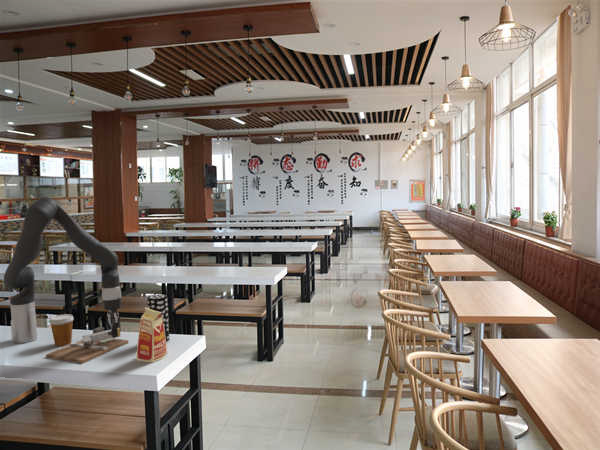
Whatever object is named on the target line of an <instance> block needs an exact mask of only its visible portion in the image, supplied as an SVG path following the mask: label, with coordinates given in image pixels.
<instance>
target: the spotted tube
mask: <svg viewBox="0 0 600 450" xmlns="http://www.w3.org/2000/svg"><path fill="white" fill-rule="evenodd" d="M146 300H147V308H148V309H151V310H153V311H158V312H162V313H161V314H160V315H161V316H162V319H163V324H164V330H165V338H166V342H167V343H169V342H170V326H169V322H170V321H169V302H168V295H167V294H163V293H160V294H152V295H149V296H147V299H146ZM168 341H169V342H168Z"/></svg>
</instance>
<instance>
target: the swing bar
mask: <svg viewBox="0 0 600 450" xmlns="http://www.w3.org/2000/svg"><path fill="white" fill-rule="evenodd" d="M117 330H118V337H117V338H119V337H121V328H120V327H119V328H117ZM109 338H113V337H112V332H111V329H108V330H104V331H103V332H98V333H94V334H93V333H91V334H84V335H82V340H83V345H84V346H88V345H92V344H94V342H97V341H101V340H105V339H109Z"/></svg>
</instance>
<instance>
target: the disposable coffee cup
mask: <svg viewBox="0 0 600 450" xmlns="http://www.w3.org/2000/svg"><path fill="white" fill-rule="evenodd" d="M74 319H75V317H74V316H73V314H71V313H70V314H67V313H66V314H58V315H54V316H51V317H50V318H49V320H48V322H49V324H50V327H51V331H52V332H51V333H52V336H53V341H54V346H56V347H66V346H68V345H70V343H72V337H73V321H74Z"/></svg>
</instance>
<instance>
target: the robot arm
mask: <svg viewBox="0 0 600 450" xmlns="http://www.w3.org/2000/svg"><path fill="white" fill-rule="evenodd" d="M52 220H54V221H56V222H57V223H58V224H60V226H61V227H62V228H63V229H64V230H65V233H66V235H67V236H68V238H69V240H70V241H71V242H72V243H73V245H74V246H75V247H77V248H78V249H80V250H81V251H83V253H86V255H88V256H90V257H91V258H92V259H93V260H95V261H96V262H97V263H98V264H100V272H101V299H102V309H103V310H104V311H108V312H107V319H108V325H109V327H110V330H111V332H112V337H113V338H115V339H117V338H119V337H118V330H117V328H120V312H118V310H119V309H121V308H122V307H123V303H122V302H123V301H122V300H123V299H122V290H121V284H120V275H119V265H118V262H119V256H118V255H117V253H116V252H115V251H113V250H111V249H109V247H106V246H105V245H103V244H102V243H101V242H100V240H98V239H97V238H96V237H94V236H93V235H91V234H90V233H89V232H88V231H87V230H86V229H84V228H83V227H82V226H81V225H80V224H78V222H76V221H75V219H74V218H73V217H72V216H71V215H70V214H68V212H66V210H65V209H64V208H62V206H61V205H60V204H59V203H58V202H57V201H56V200H54V199H52V198H50V197H48V196H41V197H39V198H38V199H36V200H35V201H34V202H32V203H31V205H29V206H28V207H27V209H26V211H25V215H24V221H23V226H22V229H21V231H20V234H19V236H18V239H17V242H16V245H15V248H14V251H13V255H12V257H11V260H10V261H9V264H8V266H7V267H6V270H5V272H4V276H3V284H4V286H5V288H7V289H9V290H16V289H22V290H21V291H19V292H18V293H16V294H15V295H13V296H11V298H10V299H9V302H10V314H11V320H10V330H11V341H12V342H13V343H15V344H26V343H30V342H33V341H36V340H37V339H38V328H37V317H36V316H37V314H36V305H35V303H36V302H35V297H36V296H35V295H36V293H35V292H36V291H35V273H34V270H33V268H32V267H31V266H29V265H31V264H32V263H33V262H34V261H36V259H37V258H38V257H39V256H40V254H41V251H42V249H43V247H44V240H43V237H42V234H43V232H44V230H45V229H46V227H47V225H48V224H49V223H51V221H52Z"/></svg>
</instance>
